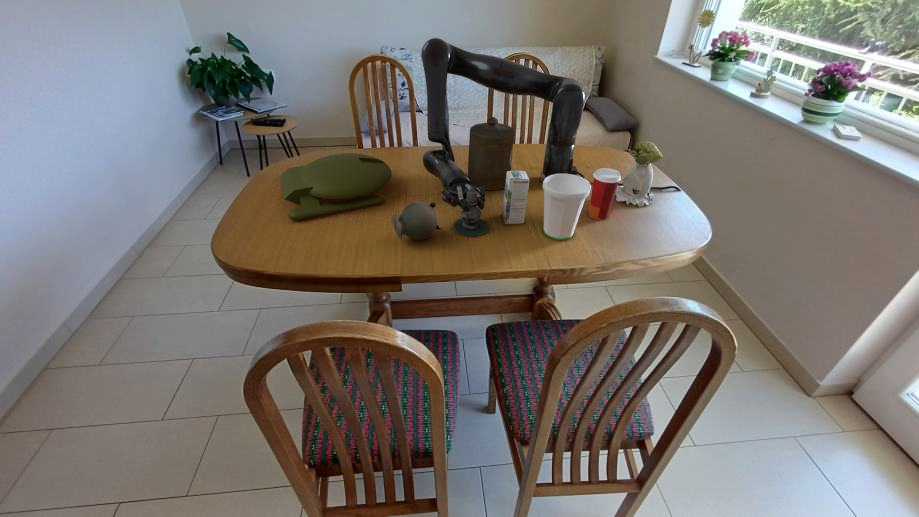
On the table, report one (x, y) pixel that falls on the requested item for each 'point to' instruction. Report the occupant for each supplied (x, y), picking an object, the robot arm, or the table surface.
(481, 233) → the coaster
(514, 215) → the syrup box
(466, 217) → the stone chess piece
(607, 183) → the paper cup
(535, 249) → the table surface
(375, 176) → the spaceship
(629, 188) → the white green figurine
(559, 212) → the cup
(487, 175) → the wooden container
